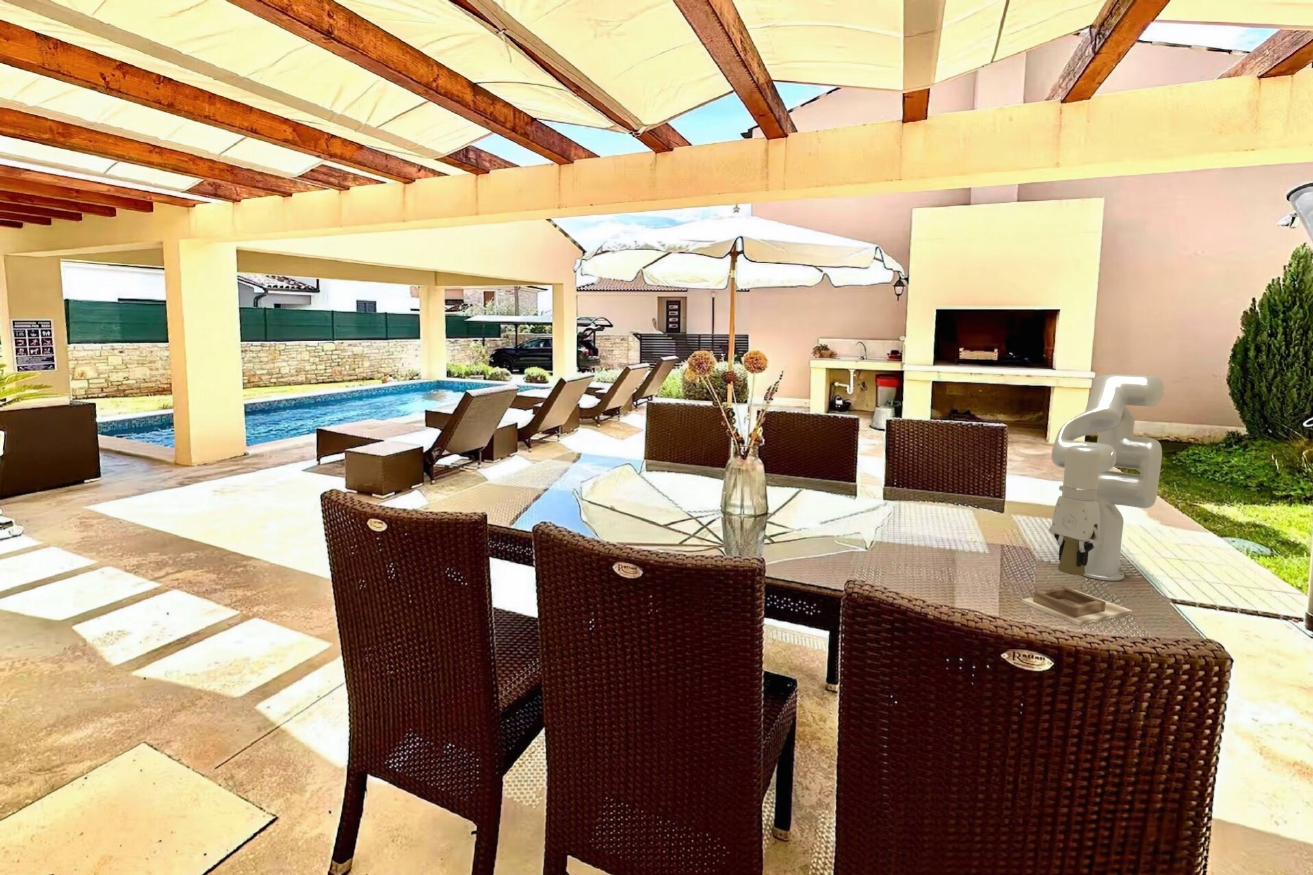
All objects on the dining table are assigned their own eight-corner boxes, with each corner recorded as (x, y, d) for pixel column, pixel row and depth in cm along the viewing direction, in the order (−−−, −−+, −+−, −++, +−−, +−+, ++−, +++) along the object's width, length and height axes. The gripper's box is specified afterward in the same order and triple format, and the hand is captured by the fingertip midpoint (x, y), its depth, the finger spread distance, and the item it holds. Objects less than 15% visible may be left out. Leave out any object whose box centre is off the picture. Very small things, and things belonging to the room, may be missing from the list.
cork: (1056, 571, 176) (1060, 530, 174) (1059, 565, 181) (1063, 525, 179) (1083, 576, 172) (1087, 534, 171) (1086, 570, 177) (1090, 529, 175)
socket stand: (1073, 592, 190) (1074, 580, 190) (1131, 614, 176) (1133, 601, 175) (1021, 602, 183) (1023, 590, 182) (1078, 625, 168) (1079, 612, 167)
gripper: (1039, 488, 180) (1033, 555, 182) (1101, 502, 164) (1094, 575, 167) (1059, 486, 183) (1052, 552, 185) (1122, 499, 167) (1114, 571, 170)
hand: (1072, 562), depth 176 cm, fingers closed on cork, 4 cm apart
